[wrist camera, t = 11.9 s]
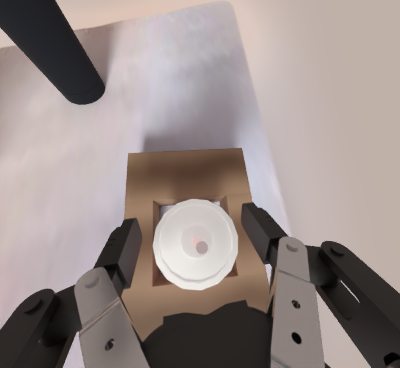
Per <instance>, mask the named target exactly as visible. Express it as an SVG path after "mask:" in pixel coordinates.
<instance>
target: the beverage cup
mask: <svg viewBox="0 0 400 368" xmlns="http://www.w3.org/2000/svg"><path fill="white" fill-rule="evenodd" d="M153 250H154V255H155V260H156V264H157V266H158V267H159V269H160V270H161V272H162V273H163V274H164V276H165V277H166V279H167V280H169V281H170V282H172V283H174V284H175V285H177V286H179V287H180V288H182V289H189V290H204V289H206V288H209V287H211V286H214V285H216V284H218V283H219V282H220V281H221V280H222V279H223V278H224V277H225V276H226V275H227V274H228V273H229V272H230V271H231V269H232V267H233V264H234V262H235V259H236V257H237V254H238V235H237V232H236V229H235V226H234V224H233V221H232V219H231V218H230V217H229V216H228V214H227V213H226V212H225V211H224V210H223V209H222V208H221V207H220V206H218V205H216V204H214V203H212V202H210V201H208V200H200V199H190V200H187V201H183V202H180V203H177V204H176V205H174V206H173V207H172V208H171V209H169V210H168V211H167V212H166V213H164V215H163V217H162V218H161V220H160V222H159V223H158V225H157V227H156V230H155V235H154V241H153Z"/></svg>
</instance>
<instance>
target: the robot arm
mask: <svg viewBox="0 0 400 368" xmlns="http://www.w3.org/2000/svg"><path fill="white" fill-rule="evenodd" d="M241 224H242V227H243V229H244V230H245V232H246V234H247V236H248V237H249V239H250V241H251V243H252V245H253V246H254V248H255V250H256V252H257V253H258V255H259V257H260V259H261V261H262V262H263V264H264V265H265V264H270V265H271V266H272V270H271V277H270V285H269V293H268V300H267V305H266V310H265V312H264V311H262V310H260V309H257V308H254V307H250V306H248V304H247V301H246V300H241V301H236V302H232V303H227V304H225V305H223V306H221V307H220V308H218V309H216V310H214V311H213V312H211V313H209V314H206V315H204V314H196V313H187V312H183V313H178V314H173V315H168V316H163V324H162V325H160V326H159V327H157V328H156V329H155V330H153V331H152V332H151V333H150V334H149V335H148V336H147V337H146V339H145V340H144V341H143V340H142V338H141V336H140V334H139V332H138V330H137V328H136V326H135V324H134V322H133V320H132V318H131V316H130V314H129V312H128V310H127V307H126V305H125V303H124V301H123V299H122V297H121V296H122V293H123V290H124V289H130V288H131V284H132V280H133V276H134V272H135V268H136V264H137V260H138V256H139V252H140V248H141V244H142V232H141V229H140V226H139V223H138V220H137V218H129V219H124V221H123V223H122V225H121V227H117V228H116V229H115V230H114V231H113V232H112V233H111V235H110V237H109V239H108V241H107V243H106V245H105V247H104V248H103V250H102V252H101V254H100V256H99V258H98V260H97V262H96V264H95V266H94V268H93V269H92V270H90V271H88V272H86V273H85V274H84V275H83V276H82V277H81V278H80V279H79V280H78V281H77V283H76V284H75V285H73V286H71V287H69V288H66V289H64V290H62V291H59V292H57V293H55V292H54V291H53V290H52V289H43V290H40V291H38V292H36V293H34V294H32V295H31V296H29V297H28V298H27V299H25V300H24V301H23V302H22V303H21V304H20V305H19V306H18V307H17V308H16V310H15V311H14V312H13V314H12V315H11V316H10V318H9V319H8V320H7V322H6V323H5V324H4V326H3V327H2V328H1V330H0V368H63V365H64V363H65V360H66V358H67V355H68V353H69V350H70V348H71V345H72V343H73V340H74V337H75V335H76V332H78V331H79V340H80V345H81V351H82V356H83V361H84V366H85V368H330V367H329V366H328V365H327V364H326V363H325V362H324V355H323V347H322V340H321V330H320V322H319V314H318V305H317V297H316V291H317V292H318V294H319V295H320V296H321V298H322V299H323V301H324V302H325V303H326V305H327V306H328V307H329V309H330V310H331V312H332V313H333V315H334V316H335V317H336V318H337V320H338V322H339V323H340V324H341V326H342V327H343V329H344V330H345V331H346V333H347V334H348V336H349V337H350V338H351V340H352V341H353V343H354V344H355V345H356V347H357V348H358V349H359V351H360V352H361V354H362V355H363V357H364V358H365V359H366V361H367V362H368V364H369V365H370V366H371V368H400V293H398V292H397V291H396V290H395V289H394V288H393V287H391V286H390V285H389V284H388V283H387V282H386V281H385V280H383V279H382V278H381V277H380V276H379V275H378V274H377V273H375V272H374V271H373V270H372V269H371V268H370V267H368V266H367V265H366V264H365V263H364V262H363V261H362V260H360V259H359V258H358V257H357V256H356V255H355V254H354V253H352V252H351V251H350V250H349V249H348V248H346V247H345V246H343V245H341V244H339V243H336V242H333V241H325V242H323V243H322V244H321V247H315V246H307V245H304V244H303V243H302V242H301V241H299V240H298V239H296V238H293V237H289V236H288V235H287V234H286V233H285V232H284V231H283V230H282V228H281V227H280V226H279V225H278V224H277V223H276V222H275V221H274V219H273V218H272V217H271V216H270V215H269V214H268V212H267V211H265V210H263V209H262V208H257V206H256V205H255V204H254V203H253V202H249V203H243V204H242V210H241ZM341 280H342V282H343V283H344V284H345V285H346V286H347V287H348V288H349V289H350V290H351V292H352V293H353V294H354V295H355V296H356V297H357V299H358V300H359V302H360V303H359V302H358V301H357V300H356V298H355V297H354V296H353V295H352V294H351V293H350V292H349V291H348V289H347V288H346V287H345V286H344V285H343V284H342V283H341V282H340V281H341Z"/></svg>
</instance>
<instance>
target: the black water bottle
mask: <svg viewBox="0 0 400 368" xmlns="http://www.w3.org/2000/svg"><path fill="white" fill-rule="evenodd" d="M0 28H1V29H2V30H3V31H4V32H5V33H6V34H7V35H8V36H9V37H10V38H11V39H12V41H13V42H14V43H15V44H16V45H17V46H18V47H19V48H20V49H21V50H22V51H23V52H24V54H25V55H26V56H27V57H28V58H29V59H30V60H31V61H32V62H33V63H34V64H35V65H36V66H37V67H38V69H39V70H40V71H41V72H42V73H43V74H44V75H45V76H46V77H47V78H48V79H49V80H50V81H51V83H52V84H53V85H54V86H55V87H56V88H57V89H58V90H59V91H60V92H61V93H62V94H63V95H64V96H65V98H66V99H67V100H69V101H70V102H72V103H75V104H79V105H80V104H89V103H93V102H95V101H97V100H98V99H99V98H100V97H101V96H102V95H103V93H104V90H105V86H104V83H103V81H102V80H101V78H100V76H99V74H98V73H97V71H96V69H95V68H94V66H93V64H92V62H91V61H90V59H89V57H88V56H87V54H86V52H85V50H84V49H83V47H82V45H81V44H80V42H79V40H78V38H77V37H76V35H75V33H74V32H73V30H72V28H71V26H70V25H69V23H68V21H67V20H66V18H65V16H64V14H63V13H62V11H61V9H60V8H59V6H58V4H57V2H56V1H55V0H0Z"/></svg>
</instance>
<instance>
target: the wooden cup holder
mask: <svg viewBox="0 0 400 368" xmlns="http://www.w3.org/2000/svg"><path fill="white" fill-rule="evenodd" d="M190 199H200V200H208V201H210V202H217V201H220V207H221V208H222V209H223V210H224V211H225V212H226V213H227V214H228V216H229V217H230V218H231V219H232V221H233V224H234V226H235V229H236V232H237V235H238V254H237V257H236V259H235V262H234V264H233V267H232V269H231V271H230V272H229V273H228V274H227V275H226V276H225V277H224V278H223V279H222V280H221V281H220V282H219V283H218V284H216V285H214V286H211V287H209V288H206V289H204V290H189V289H182V288H180V287H179V286H177V285H175V284H174V283H172V282H170V281H169V280H167V279H166V277H165V276H164V274H163V275H161V271H160V269H159V267H158V266H157V264H156V260H155V255H154V250H153V241H154V235H155V230H156V227H157V225H158V223H159V222H160V206H166V205H176V204H177V203H180V202H183V201H187V200H190ZM249 202H252V197H251V192H250V187H249V182H248V177H247V172H246V167H245V162H244V156H243V151H242V148H232V149H211V150H189V151H168V152H147V153H128V165H127V182H126V198H125V215H124V219H129V218H137V220H138V223H139V226H140V229H141V232H142V244H141V248H140V252H139V256H138V260H137V264H136V268H135V272H134V276H133V280H132V284H131V288H130V289H124V290H123V293H122V296H121V297H122V299H123V301H124V303H125V305H126V307H127V310H128V312H129V314H130V316H131V318H132V320H133V322H134V324H135V326H136V328H137V330H138V332H139V334H140V336H141V338H142V340H143V341H144V340H145V339H146V337H147V336H148V335H149V334H150V333H151V332H152V331H153V330H155V329H156V328H157V327H159V326H160V325H162V324H163V316H168V315H173V314H178V313H183V312H187V313H196V314H204V315H206V314H209V313H211V312H213V311H214V310H216V309H218V308H220V307H221V306H223V305H225V304H227V303H232V302H236V301H241V300H246V301H247V304H248V306H250V307H254V308H257V309H260V310H262V311H264V312H265V310H266V305H267V300H268V293H269V283H268V278H267V273H266V268H265V265H264V264H263V262H262V261H261V259H260V257H259V255H258V253H257V252H256V250H255V248H254V246H253V245H252V243H251V241H250V239H249V237H248V236H247V234H246V232H245V230H244V229H243V227H242V224H241V210H242V204H243V203H249Z"/></svg>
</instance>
